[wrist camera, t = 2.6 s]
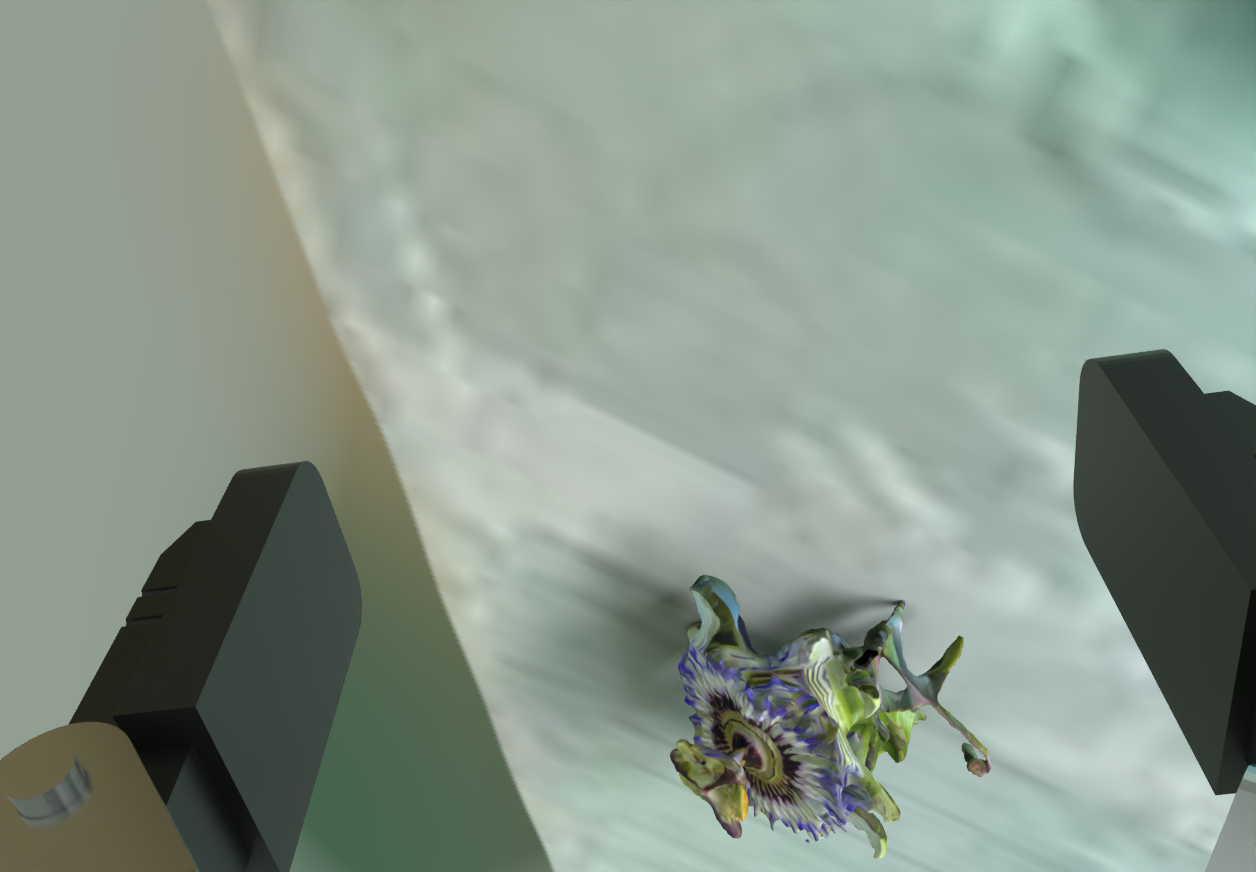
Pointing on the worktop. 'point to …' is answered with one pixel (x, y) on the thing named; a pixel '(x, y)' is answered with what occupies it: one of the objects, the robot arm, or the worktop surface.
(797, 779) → the passion flower
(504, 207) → the worktop surface
